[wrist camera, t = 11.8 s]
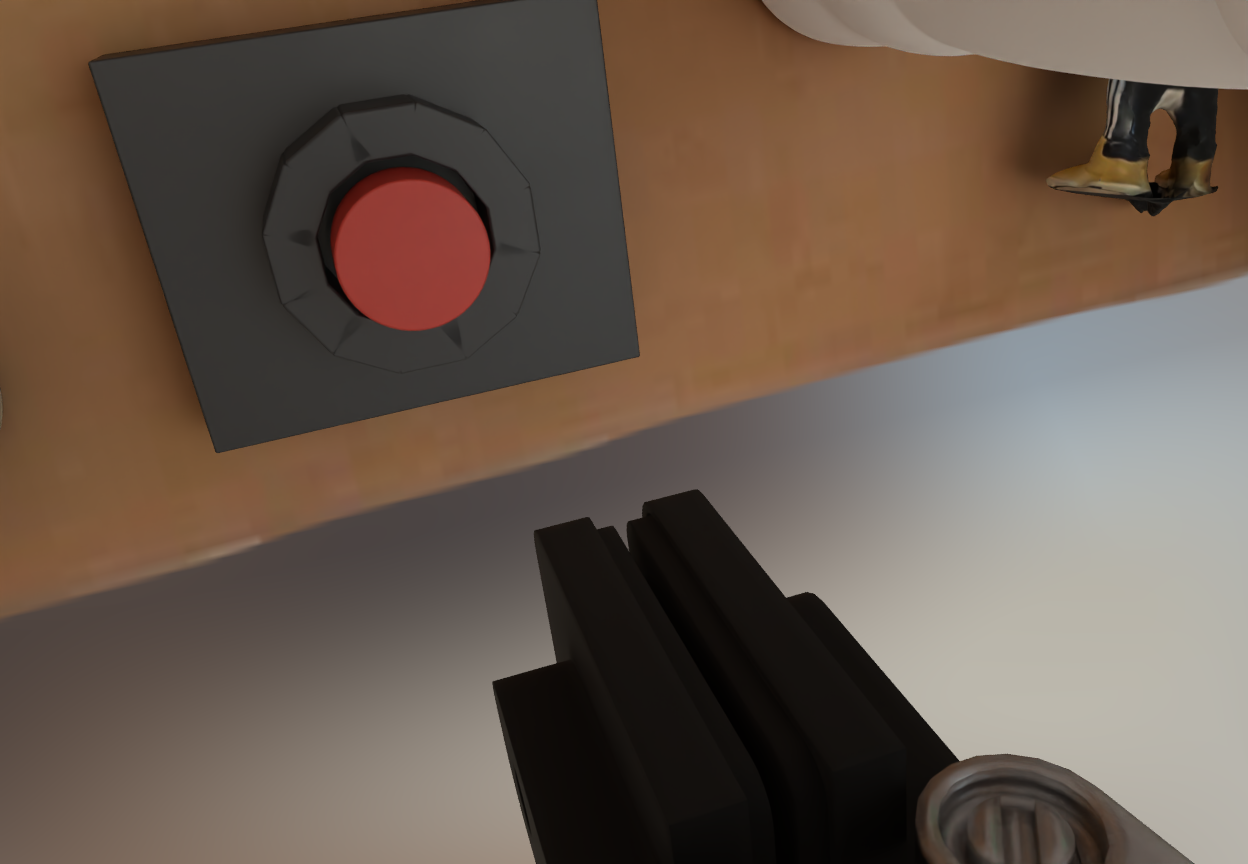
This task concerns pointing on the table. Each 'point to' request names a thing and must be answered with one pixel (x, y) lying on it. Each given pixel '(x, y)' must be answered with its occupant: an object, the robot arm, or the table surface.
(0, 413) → the flower pot
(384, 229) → the button
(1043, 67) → the water bottle
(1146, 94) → the figurine
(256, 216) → the control box
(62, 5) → the table surface
